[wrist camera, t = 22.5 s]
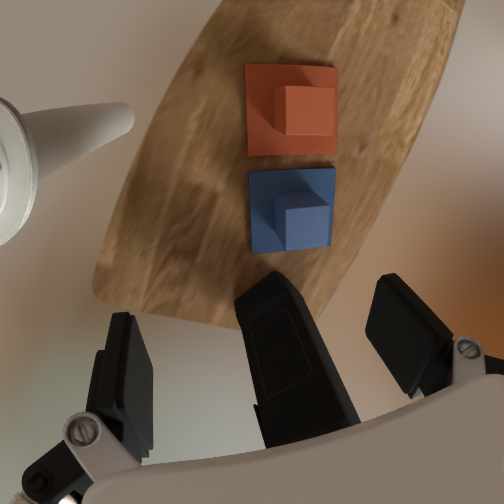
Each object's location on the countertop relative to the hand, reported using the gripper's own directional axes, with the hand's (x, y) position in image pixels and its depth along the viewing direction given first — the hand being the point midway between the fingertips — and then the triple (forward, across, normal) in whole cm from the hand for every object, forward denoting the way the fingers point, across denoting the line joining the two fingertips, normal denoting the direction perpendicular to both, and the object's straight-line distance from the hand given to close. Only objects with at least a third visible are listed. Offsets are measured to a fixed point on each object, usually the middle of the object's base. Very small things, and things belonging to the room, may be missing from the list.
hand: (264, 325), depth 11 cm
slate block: (+20, -8, +4) cm, 22 cm away
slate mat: (+20, -8, +4) cm, 22 cm away
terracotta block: (+20, -8, -6) cm, 23 cm away
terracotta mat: (+20, -8, -6) cm, 23 cm away
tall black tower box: (+21, -5, +16) cm, 26 cm away
